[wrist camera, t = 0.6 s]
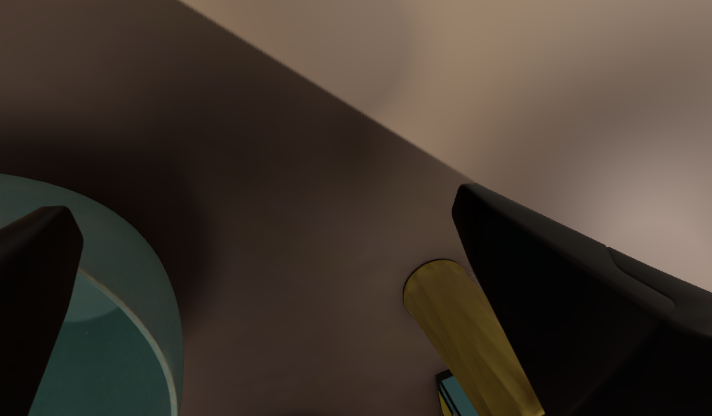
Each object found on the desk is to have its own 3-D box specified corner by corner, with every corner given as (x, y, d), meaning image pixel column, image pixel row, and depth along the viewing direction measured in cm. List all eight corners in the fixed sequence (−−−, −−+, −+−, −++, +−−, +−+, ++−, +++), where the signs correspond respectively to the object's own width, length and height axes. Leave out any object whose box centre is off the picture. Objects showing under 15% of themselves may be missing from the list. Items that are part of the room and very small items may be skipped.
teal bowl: (-8, 403, 26) (-207, 653, 15) (-211, 164, 19) (-893, 307, 8) (244, 326, 29) (234, 490, 18) (152, 92, 21) (37, 120, 10)
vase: (392, 279, 31) (488, 436, 18) (455, 246, 31) (595, 376, 18) (415, 328, 33) (513, 495, 20) (473, 297, 34) (606, 442, 21)
